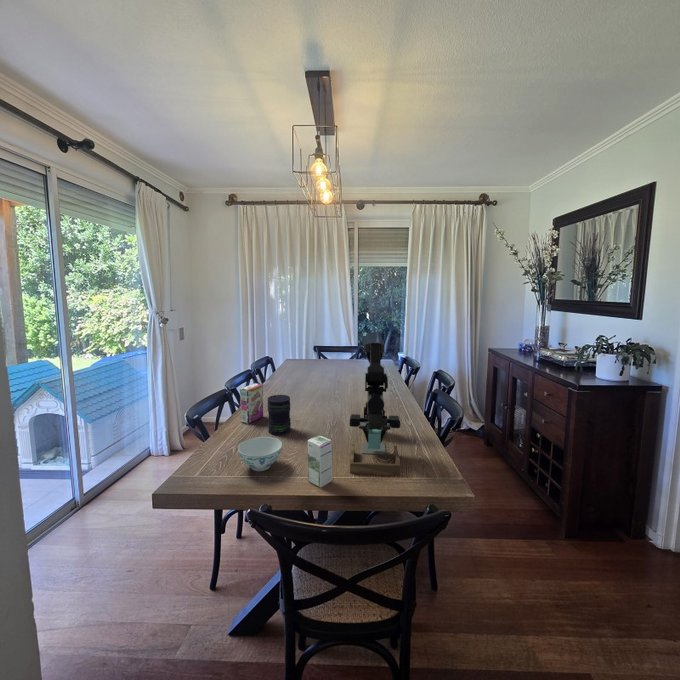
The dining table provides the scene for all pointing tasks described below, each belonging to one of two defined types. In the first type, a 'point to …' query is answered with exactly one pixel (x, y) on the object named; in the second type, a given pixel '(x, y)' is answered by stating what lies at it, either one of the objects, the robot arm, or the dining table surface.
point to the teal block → (374, 439)
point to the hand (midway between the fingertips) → (374, 442)
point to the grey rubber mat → (373, 451)
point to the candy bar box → (251, 403)
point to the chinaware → (260, 452)
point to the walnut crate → (375, 466)
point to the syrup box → (319, 461)
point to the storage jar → (279, 414)
